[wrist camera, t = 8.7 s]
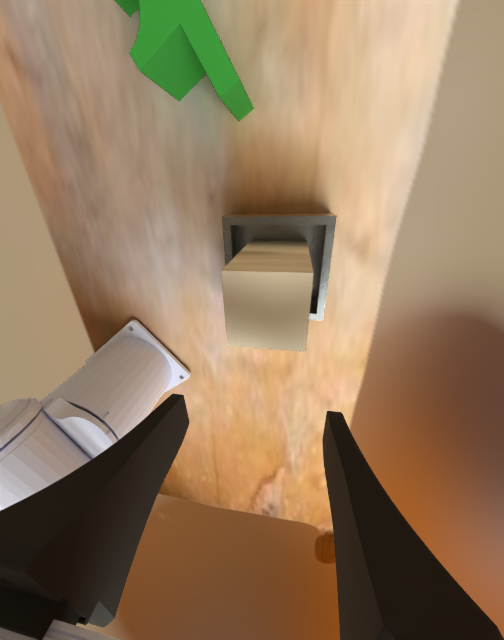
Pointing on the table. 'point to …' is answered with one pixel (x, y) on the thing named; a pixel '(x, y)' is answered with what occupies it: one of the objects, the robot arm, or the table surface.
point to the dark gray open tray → (288, 227)
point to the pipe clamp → (184, 51)
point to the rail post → (268, 295)
